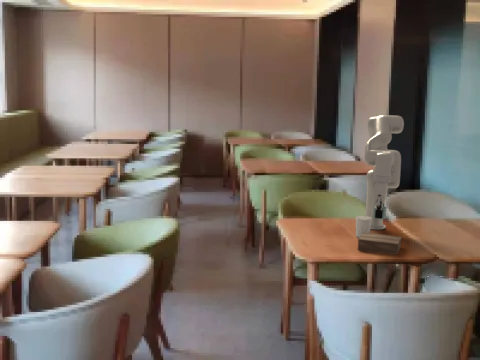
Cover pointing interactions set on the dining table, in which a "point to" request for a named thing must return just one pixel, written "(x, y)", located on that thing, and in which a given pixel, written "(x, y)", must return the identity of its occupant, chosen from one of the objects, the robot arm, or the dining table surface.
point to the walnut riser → (379, 243)
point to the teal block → (382, 214)
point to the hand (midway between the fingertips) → (379, 216)
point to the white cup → (363, 225)
